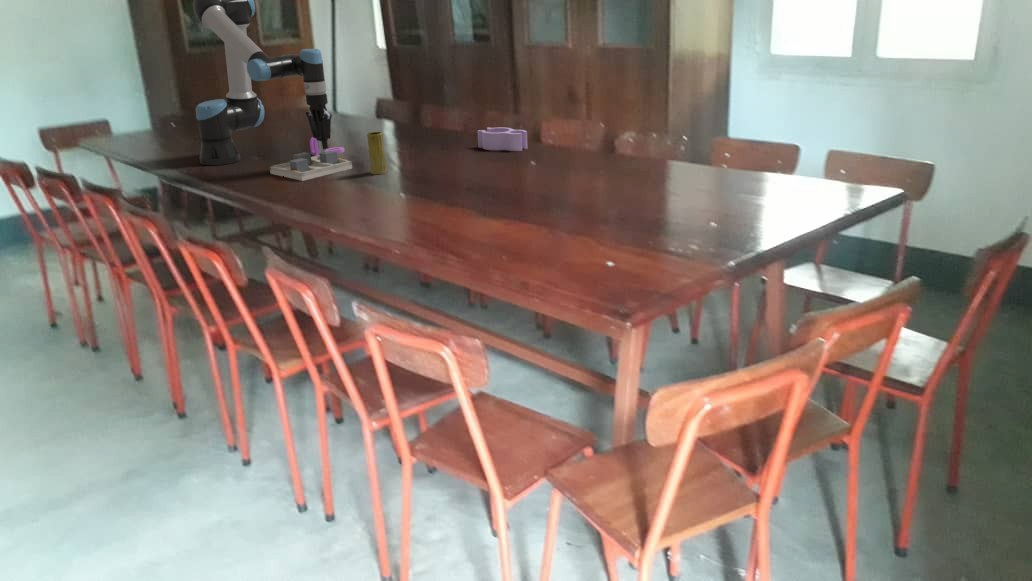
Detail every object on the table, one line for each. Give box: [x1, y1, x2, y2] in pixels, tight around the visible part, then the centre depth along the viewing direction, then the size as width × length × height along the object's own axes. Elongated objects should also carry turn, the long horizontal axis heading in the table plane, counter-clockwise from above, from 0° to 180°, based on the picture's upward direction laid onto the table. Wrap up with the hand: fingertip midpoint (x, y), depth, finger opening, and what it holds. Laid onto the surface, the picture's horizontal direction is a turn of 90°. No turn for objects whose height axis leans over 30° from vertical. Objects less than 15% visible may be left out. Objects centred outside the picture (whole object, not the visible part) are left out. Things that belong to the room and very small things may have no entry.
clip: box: [477, 126, 528, 152], centre depth 320 cm, size 20×12×7 cm, turn 57°
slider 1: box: [292, 151, 312, 165], centre depth 297 cm, size 4×5×4 cm
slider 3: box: [319, 151, 339, 164], centre depth 298 cm, size 4×5×4 cm
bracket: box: [309, 136, 345, 157], centre depth 323 cm, size 13×6×7 cm, turn 125°
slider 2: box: [288, 158, 309, 172], centre depth 287 cm, size 4×5×4 cm
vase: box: [366, 131, 388, 175], centre depth 286 cm, size 6×6×14 cm
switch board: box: [269, 155, 353, 182], centre depth 295 cm, size 20×22×3 cm
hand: (324, 157), depth 299 cm, fingers closed
